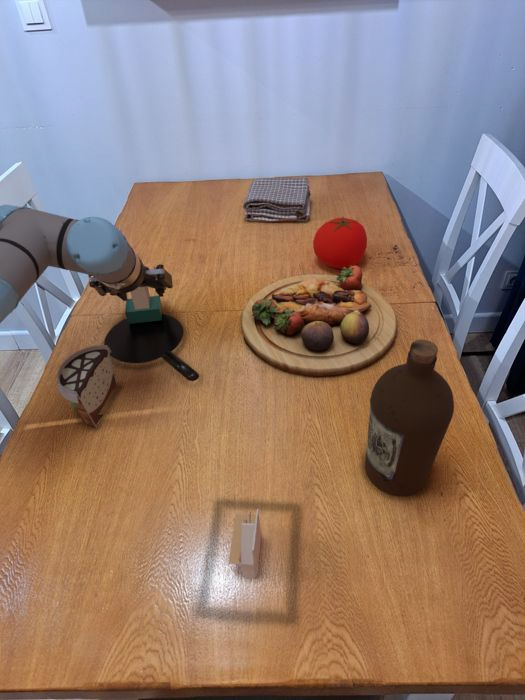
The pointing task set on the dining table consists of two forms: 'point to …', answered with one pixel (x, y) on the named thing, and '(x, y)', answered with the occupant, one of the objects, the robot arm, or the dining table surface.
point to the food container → (87, 381)
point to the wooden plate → (319, 323)
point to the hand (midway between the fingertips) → (143, 292)
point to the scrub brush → (143, 307)
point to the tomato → (340, 242)
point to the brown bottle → (407, 422)
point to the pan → (149, 343)
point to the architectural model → (246, 544)
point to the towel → (278, 200)
